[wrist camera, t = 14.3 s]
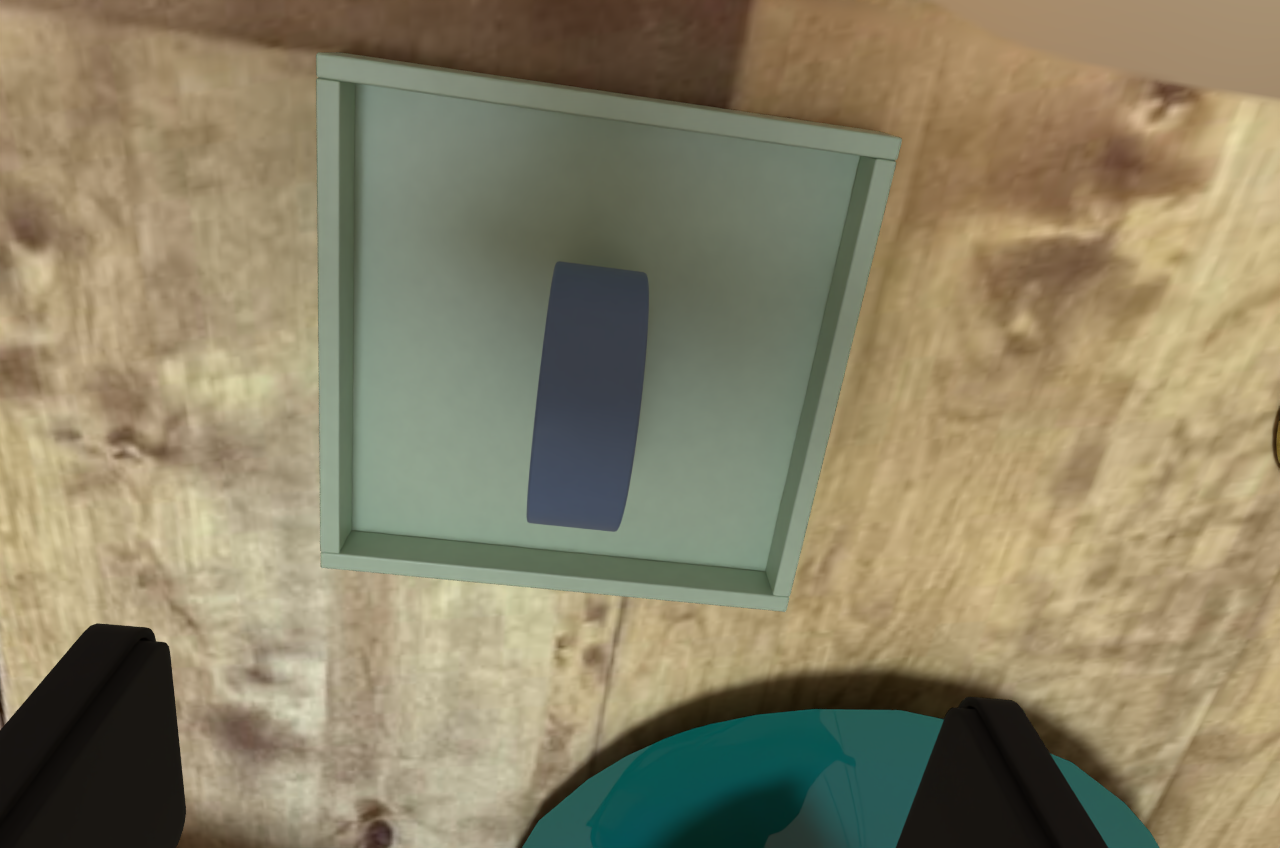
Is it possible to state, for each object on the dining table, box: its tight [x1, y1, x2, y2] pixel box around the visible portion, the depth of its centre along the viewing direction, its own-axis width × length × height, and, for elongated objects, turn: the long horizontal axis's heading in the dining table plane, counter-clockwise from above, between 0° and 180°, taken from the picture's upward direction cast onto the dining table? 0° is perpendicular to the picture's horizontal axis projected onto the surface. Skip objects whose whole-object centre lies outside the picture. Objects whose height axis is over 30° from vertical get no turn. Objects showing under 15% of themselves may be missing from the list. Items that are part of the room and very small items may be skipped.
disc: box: [526, 261, 649, 532], centre depth 23 cm, size 7×2×7 cm, turn 172°
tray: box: [316, 52, 902, 612], centre depth 26 cm, size 15×15×2 cm
